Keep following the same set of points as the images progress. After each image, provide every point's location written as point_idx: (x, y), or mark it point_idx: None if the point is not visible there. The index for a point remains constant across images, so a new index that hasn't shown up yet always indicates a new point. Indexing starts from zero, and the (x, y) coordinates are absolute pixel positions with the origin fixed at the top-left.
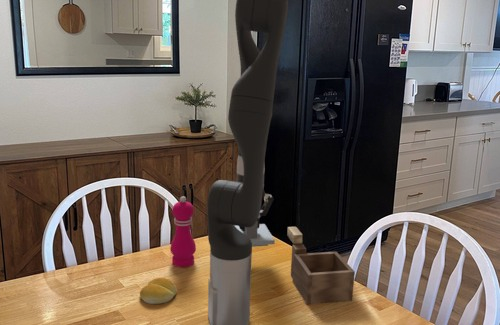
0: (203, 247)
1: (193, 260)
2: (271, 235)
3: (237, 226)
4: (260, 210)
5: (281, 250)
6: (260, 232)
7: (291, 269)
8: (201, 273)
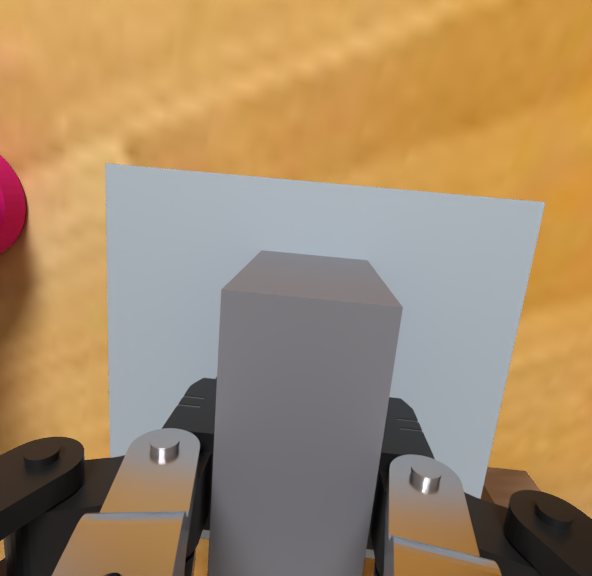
0: (96, 4)
1: (9, 232)
2: (481, 484)
3: (234, 204)
4: (511, 557)
5: (575, 168)
6: (410, 401)
7: (486, 498)
8: (58, 342)
